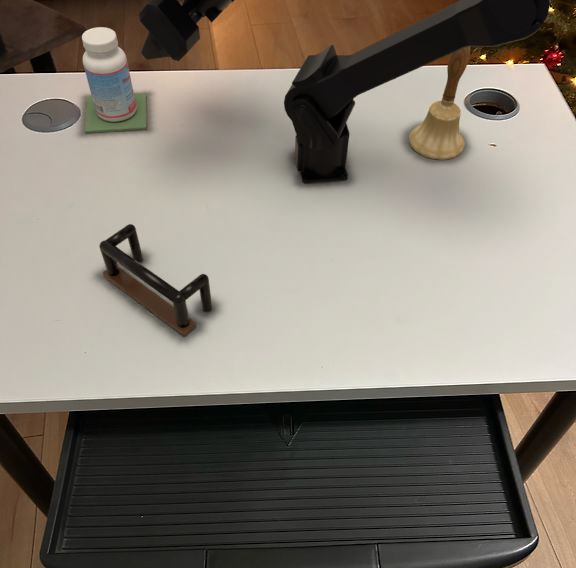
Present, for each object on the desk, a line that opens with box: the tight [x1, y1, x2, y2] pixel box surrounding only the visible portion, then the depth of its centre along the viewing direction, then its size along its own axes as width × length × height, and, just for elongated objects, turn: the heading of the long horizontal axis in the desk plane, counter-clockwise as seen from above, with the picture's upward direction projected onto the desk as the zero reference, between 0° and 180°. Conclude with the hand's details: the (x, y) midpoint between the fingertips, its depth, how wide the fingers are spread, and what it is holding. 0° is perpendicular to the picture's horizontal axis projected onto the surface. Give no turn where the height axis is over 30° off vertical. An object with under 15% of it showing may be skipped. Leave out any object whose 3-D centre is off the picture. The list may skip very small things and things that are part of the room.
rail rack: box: [98, 223, 213, 337], centre depth 70 cm, size 5×14×6 cm, turn 50°
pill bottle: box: [81, 26, 137, 122], centre depth 87 cm, size 6×6×11 cm
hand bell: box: [408, 46, 471, 161], centre depth 83 cm, size 8×8×16 cm
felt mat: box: [84, 92, 148, 134], centre depth 92 cm, size 9×9×1 cm
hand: (161, 38), depth 79 cm, fingers open, 9 cm apart
